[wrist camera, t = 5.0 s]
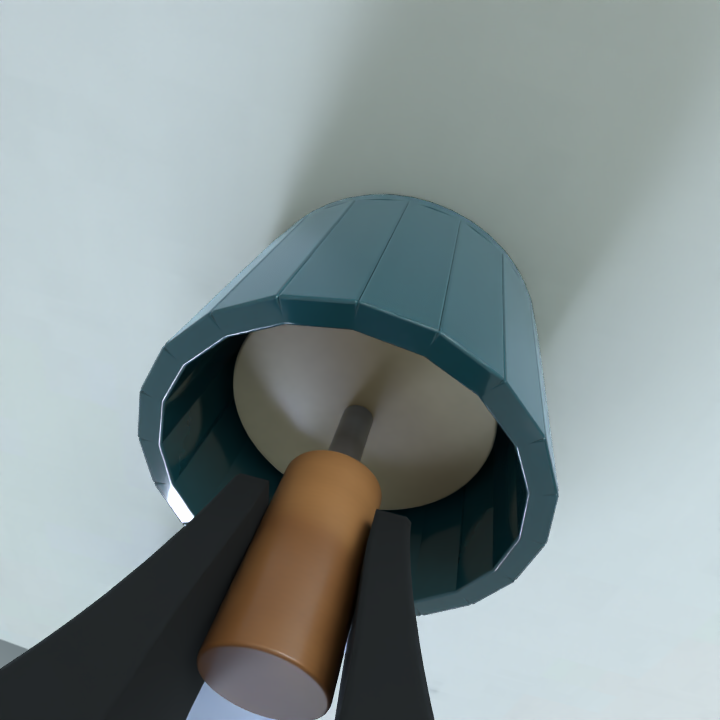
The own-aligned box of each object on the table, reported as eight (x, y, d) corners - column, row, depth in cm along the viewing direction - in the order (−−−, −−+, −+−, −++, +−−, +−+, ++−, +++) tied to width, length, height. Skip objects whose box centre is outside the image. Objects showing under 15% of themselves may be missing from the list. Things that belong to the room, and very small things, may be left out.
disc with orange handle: (356, 479, 18) (257, 797, 11) (221, 329, 16) (-24, 597, 8) (543, 403, 15) (590, 789, 7) (405, 200, 13) (269, 455, 5)
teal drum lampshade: (361, 475, 21) (311, 642, 15) (201, 294, 18) (64, 418, 12) (589, 382, 16) (638, 569, 11) (425, 121, 13) (372, 190, 8)
